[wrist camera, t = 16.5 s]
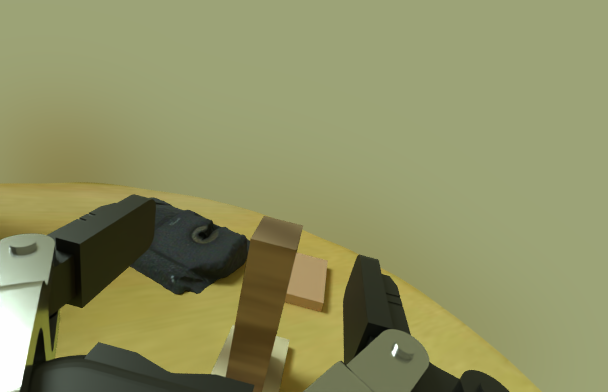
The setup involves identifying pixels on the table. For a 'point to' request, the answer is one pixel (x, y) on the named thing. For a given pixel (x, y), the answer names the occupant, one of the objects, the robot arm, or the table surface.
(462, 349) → the table surface
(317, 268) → the tile
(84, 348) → the table surface
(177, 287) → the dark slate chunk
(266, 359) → the brown post on base
